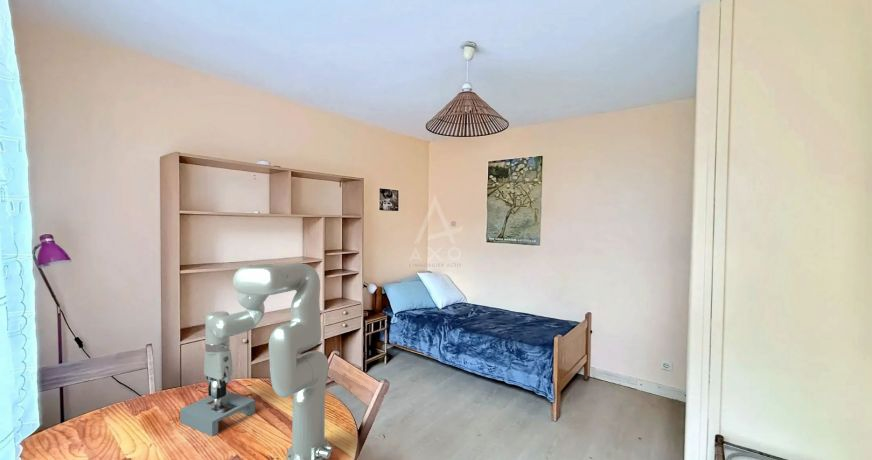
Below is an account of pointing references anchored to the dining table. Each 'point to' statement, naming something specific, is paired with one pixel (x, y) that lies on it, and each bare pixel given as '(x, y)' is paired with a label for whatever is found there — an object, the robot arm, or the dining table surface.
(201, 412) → the keyhole plate
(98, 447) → the dining table surface
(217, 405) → the steel peg
